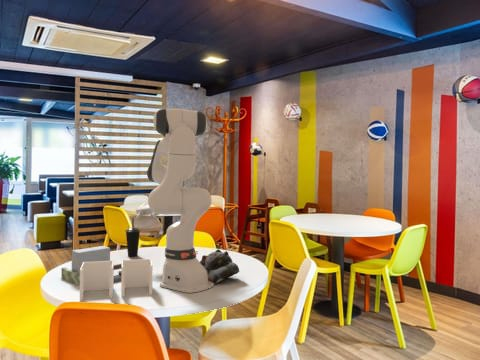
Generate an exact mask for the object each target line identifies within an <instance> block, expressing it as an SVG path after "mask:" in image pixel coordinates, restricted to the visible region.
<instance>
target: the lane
mask: <svg viewBox="0 0 480 360" xmlns="http://www.w3.org/2000/svg"><path fill="white" fill-rule="evenodd" d="M120 268H121V269H122V263H118V264H114V270H117V269H120ZM121 271H122V270H119V271H118V273H119V272H121ZM61 278H62V279H64V280H66V281H69V282H70V283H73V284H75V285H77V286H80V273H77V272H75V271H73V270H72V269H70V268H67V267H66V266H65V267H61Z"/></svg>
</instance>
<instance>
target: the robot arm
mask: <svg viewBox="0 0 480 360" xmlns="http://www.w3.org/2000/svg"><path fill="white" fill-rule="evenodd" d="M152 121H153V126H154V130H155V131H156V132H157V133H158V134H160V135H162V136H163V137H161V138H159V139H158V141H157V142H156V143H155V145H154V149H153V151H152V157H151V161H150V163H149V166H148V168H147V170H146V175H147V176H146V177H147V179H148V180H149V181H150V182H152V183H156V184H158V185H157V186H156V187H155V188H154V189H152V190H151V192H150V193H149V195H148V198H147V201H145V202H144V203H142V204H140V205H139V206H138V207H137V208H136V209H135V212H136V220H141V219H142V218H143V216H149V215H150V216H151V218H156V217H157V216H158V215H181V216H180V219H179V220H178V221H176V222H174V223H172V224H171V225H169V226H168V228H167V229H166V231H165V232H166V234H165V235H166V237H165V239H166V240H165V241H166V242H165V248H164V257H165V262H164V263H163V269H162V277H161V278H162V279H161V282H160V284H159V287H160V288H165V289H170V290H174V291H177V292H178V291H179V292H183V293H187V294H192V293H198V292H202V291H207V290H209V289H211V287H212V286H213V287H214V286H215V284H214V283H213V282H210V281H208V273H207V270H206V269H205V267H203V266H202V264H201V263H200V261H199V259H198V258H197V255H198V254H199V251H196V250H195V246H194V238H195V231H196V230H195V229H196V226H197V223H198V221H199V220H200V218H202V216H203V215H204V214H205V213H207V212H208V211H209V210H210V208H211V205H212V196H211V194H210V192H209V191H208V189H205V188H201V187H196V186H195V187H192V186H191V187H184V185H185V181H186V180H188V179H190V178H191V177H193V176H194V174H195V172H196V159H197V158H196V157H197V154H196V153H197V147H196V145H197V143H196V137H199V136H202V135H204V133H205V132H206V129H207V127H208V121H207V116H206V114H205V113H204V112H202V111H199V110H191V109H183V108H176V107H175V108H166V107H164V108H163V107H161V108H158V109H157V110H156V111H155V113H154V115H153V119H152ZM164 154H167V165H165V164H163V162H162V161H163V158H164ZM213 287H212V288H213ZM208 288H209V289H208Z"/></svg>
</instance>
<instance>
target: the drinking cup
mask: <svg viewBox="0 0 480 360" xmlns="http://www.w3.org/2000/svg"><path fill="white" fill-rule="evenodd" d="M131 218H132V219H131V221H132V222H131V225H132V227H129V228H127V229H125V230H124V231H125V237H126V249H127V251H126V252H127V257H129V258H136V257H138V254H139V243H140V242H139V241H140V236H141V235H140V233H141V229H139V228H137V227H134V224H135V223H134V222H135V221H134V217H131Z"/></svg>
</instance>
